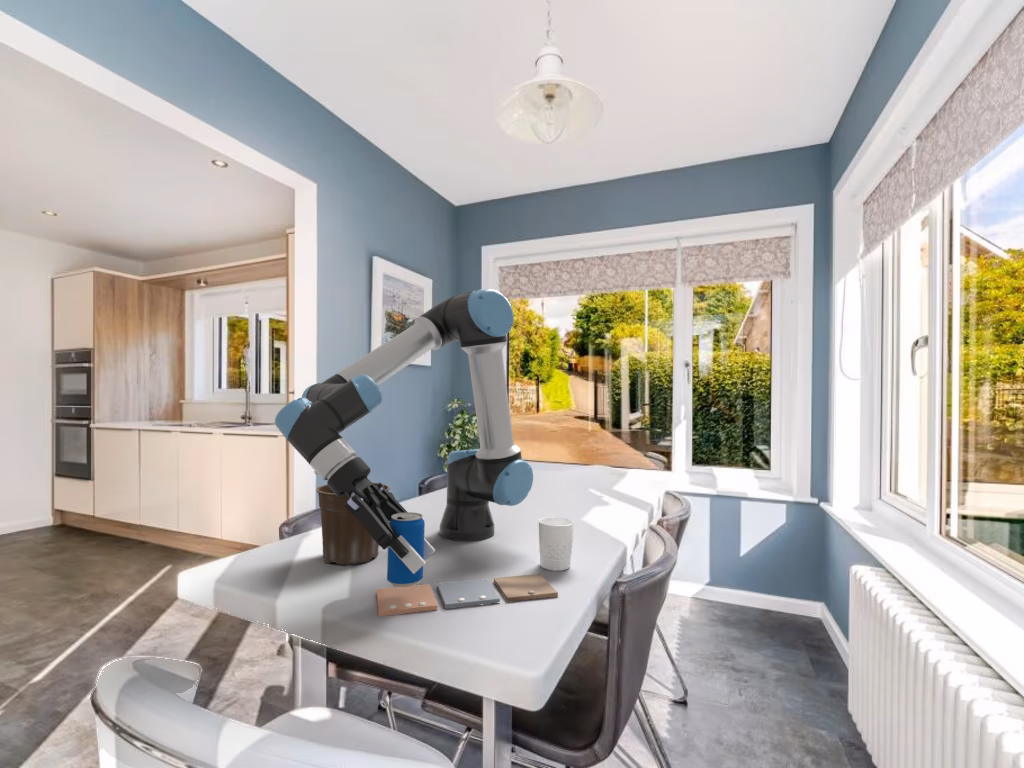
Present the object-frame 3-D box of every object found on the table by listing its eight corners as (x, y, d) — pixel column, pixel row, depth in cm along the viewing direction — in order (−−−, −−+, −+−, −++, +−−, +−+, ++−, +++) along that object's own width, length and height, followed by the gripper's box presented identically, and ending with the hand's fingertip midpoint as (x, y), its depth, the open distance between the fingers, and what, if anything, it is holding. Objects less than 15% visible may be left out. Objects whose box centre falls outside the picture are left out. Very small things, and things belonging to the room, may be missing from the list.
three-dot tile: (376, 593, 92) (376, 587, 92) (429, 588, 95) (429, 583, 95) (378, 616, 83) (378, 610, 83) (437, 609, 86) (437, 604, 86)
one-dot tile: (493, 582, 99) (493, 577, 99) (539, 577, 102) (539, 572, 102) (507, 602, 89) (507, 596, 89) (557, 596, 92) (557, 591, 92)
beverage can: (385, 577, 91) (387, 512, 91) (419, 573, 93) (421, 510, 93) (388, 590, 85) (391, 521, 85) (425, 586, 87) (427, 519, 87)
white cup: (550, 557, 115) (551, 515, 115) (579, 565, 110) (580, 521, 110) (530, 566, 109) (531, 521, 109) (560, 574, 104) (560, 527, 104)
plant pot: (373, 542, 124) (375, 479, 125) (398, 560, 111) (400, 489, 111) (306, 553, 114) (308, 484, 115) (325, 574, 101) (327, 496, 102)
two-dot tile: (437, 587, 96) (437, 582, 96) (486, 582, 99) (486, 577, 99) (445, 608, 86) (445, 603, 86) (499, 603, 89) (499, 597, 89)
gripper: (349, 474, 100) (424, 558, 98) (301, 492, 81) (393, 596, 79) (375, 449, 100) (450, 533, 98) (332, 461, 81) (425, 565, 79)
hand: (424, 561), depth 89 cm, fingers closed on beverage can, 6 cm apart
